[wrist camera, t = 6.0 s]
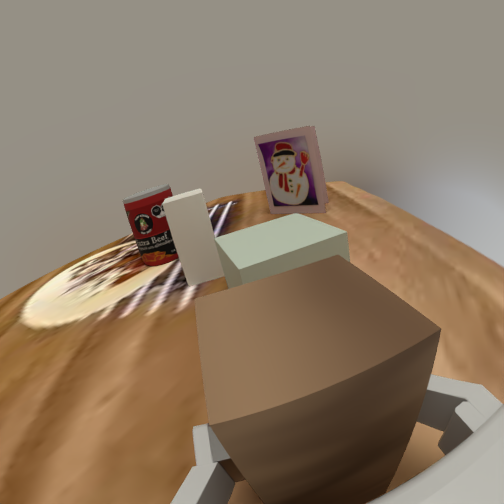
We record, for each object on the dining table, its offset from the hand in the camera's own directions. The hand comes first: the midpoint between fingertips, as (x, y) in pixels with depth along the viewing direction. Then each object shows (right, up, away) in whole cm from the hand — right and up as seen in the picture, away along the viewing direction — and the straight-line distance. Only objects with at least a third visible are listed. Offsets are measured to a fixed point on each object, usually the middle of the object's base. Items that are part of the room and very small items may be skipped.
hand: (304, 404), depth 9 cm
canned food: (-16, +4, +37) cm, 41 cm away
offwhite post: (-7, +2, +27) cm, 28 cm away
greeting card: (+8, +13, +45) cm, 48 cm away
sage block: (+1, +1, +18) cm, 18 cm away
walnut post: (+1, -5, +1) cm, 6 cm away
